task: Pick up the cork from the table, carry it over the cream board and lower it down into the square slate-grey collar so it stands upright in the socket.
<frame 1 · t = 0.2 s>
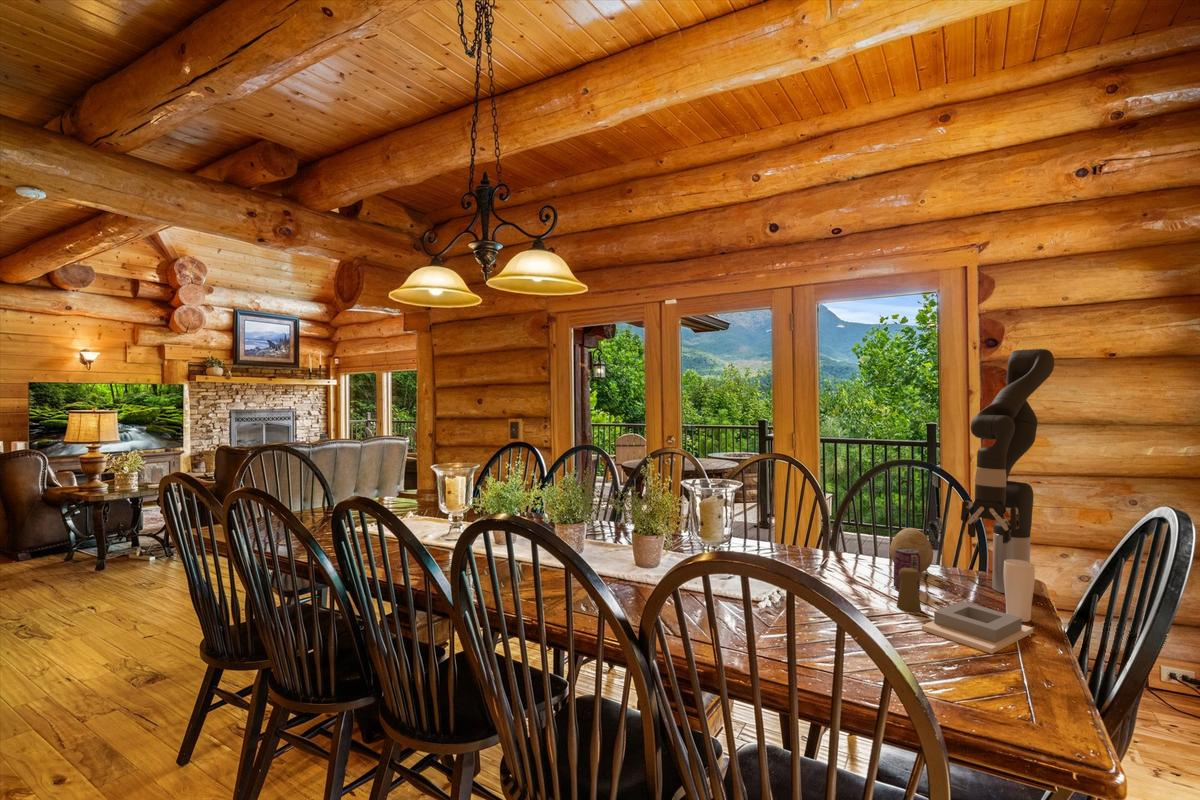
hand: (988, 540, 171), 17 cm above the table, fingers open, 8 cm apart
cork: (908, 609, 164), on the table
socket board: (977, 631, 148), on the table
drinking glass: (1018, 619, 157), on the table
fossilized egg: (910, 573, 196), on the table
beverage can: (906, 589, 180), on the table
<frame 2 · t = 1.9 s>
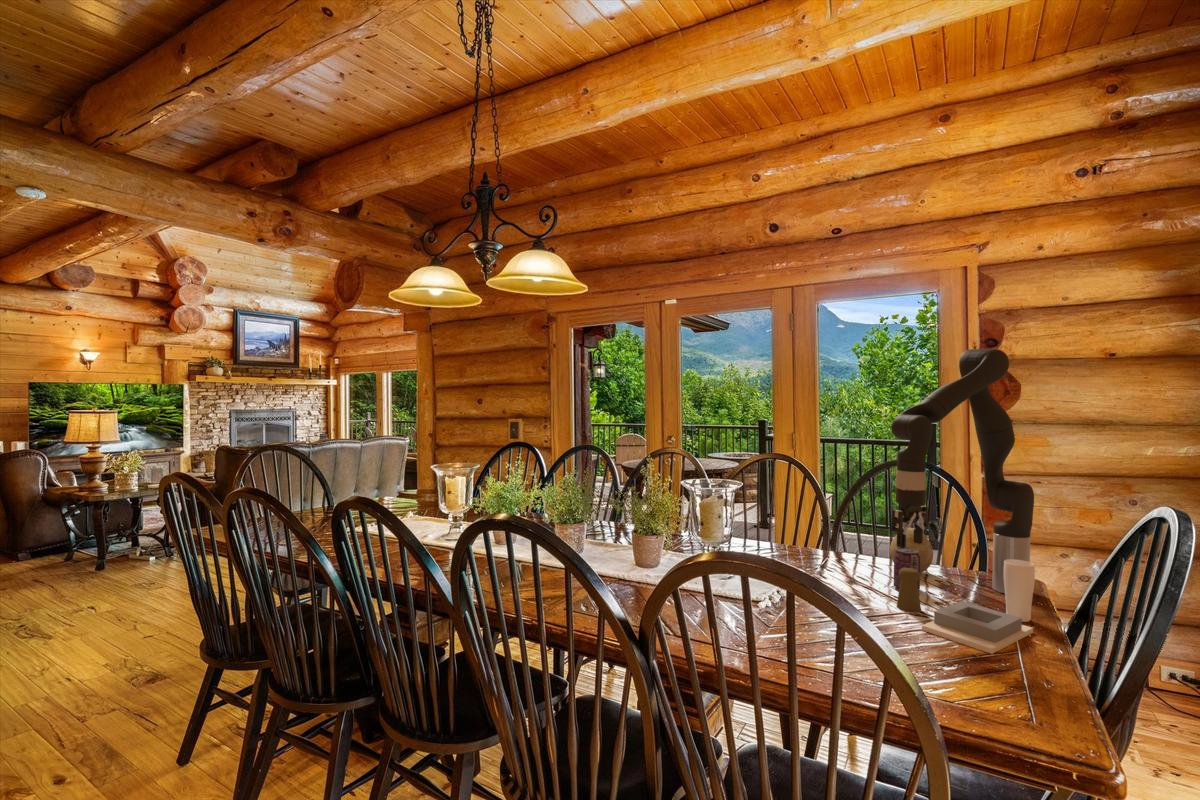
hand: (909, 545, 164), 18 cm above the table, fingers open, 8 cm apart
nothing on the table moved.
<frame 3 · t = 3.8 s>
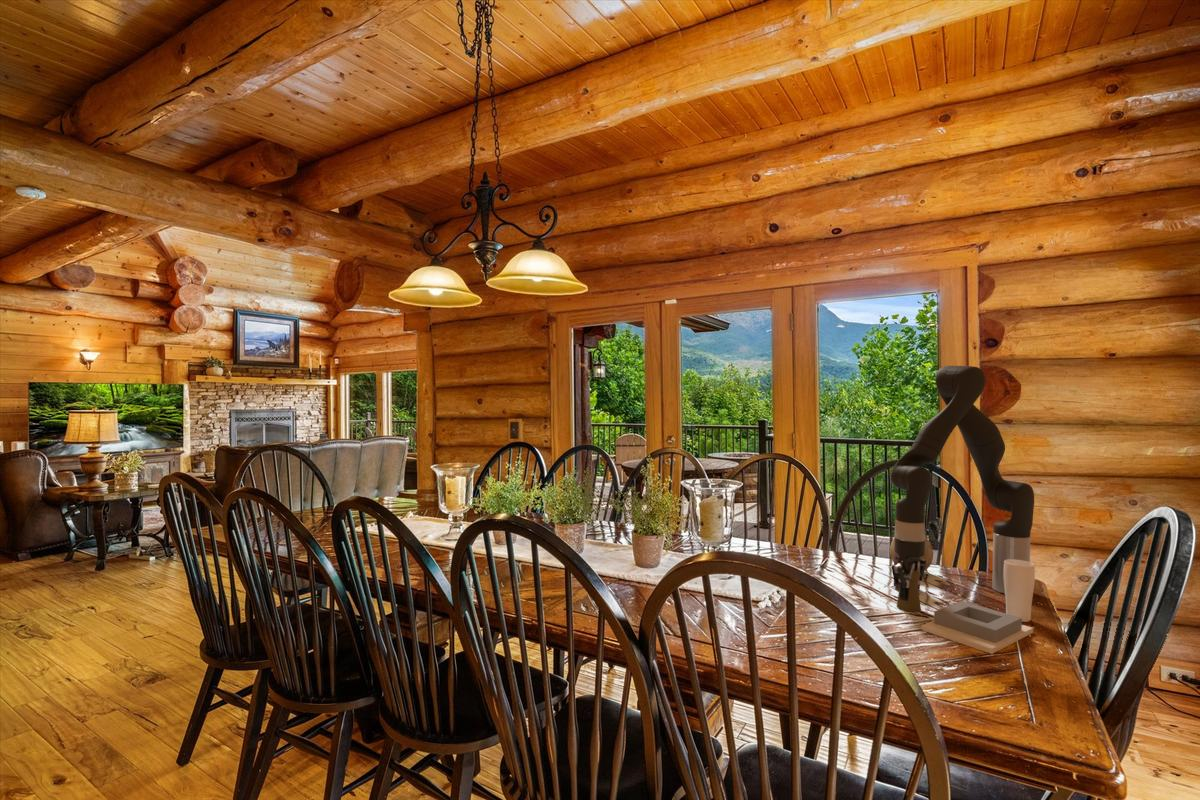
hand: (908, 598, 164), 3 cm above the table, fingers closed on cork, 3 cm apart
cork: (908, 608, 164), on the table, touching gripper
everything else where it was.
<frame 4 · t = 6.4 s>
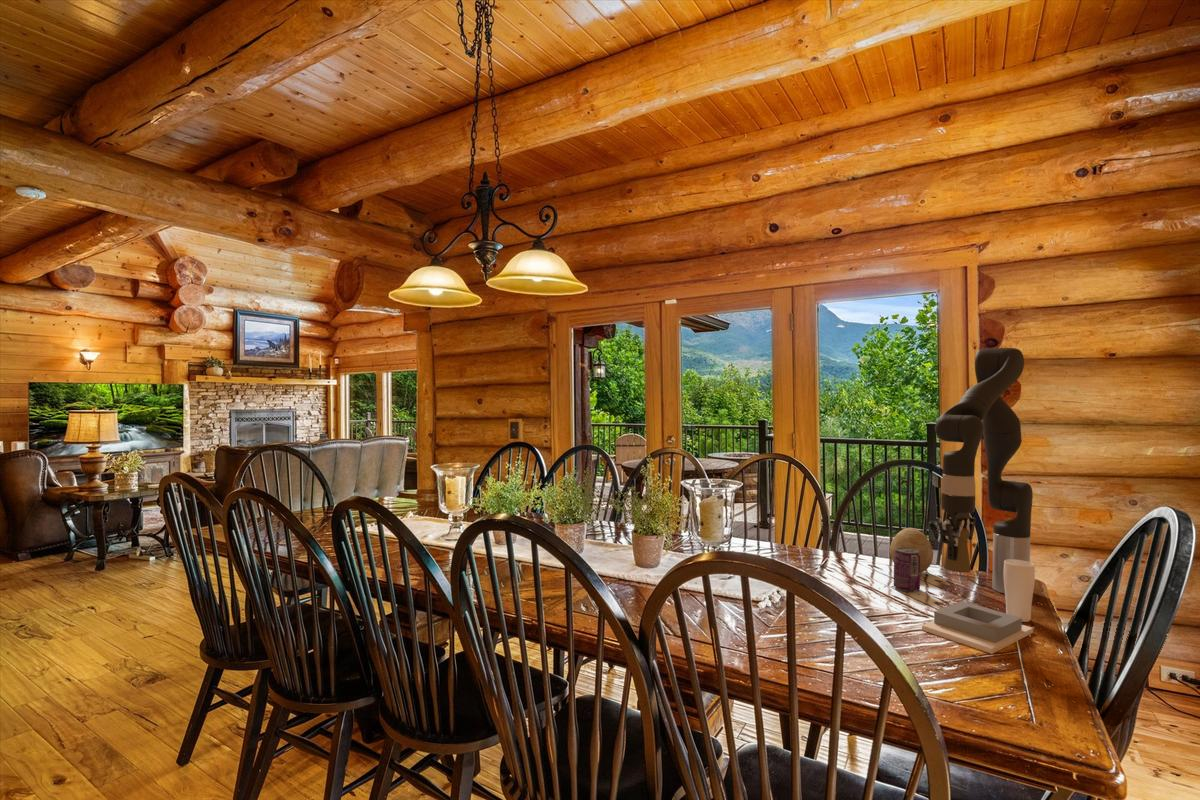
hand: (957, 558, 152), 17 cm above the table, fingers closed on cork, 3 cm apart
cork: (957, 569, 153), point 14 cm above the table, touching gripper
everything else where it was.
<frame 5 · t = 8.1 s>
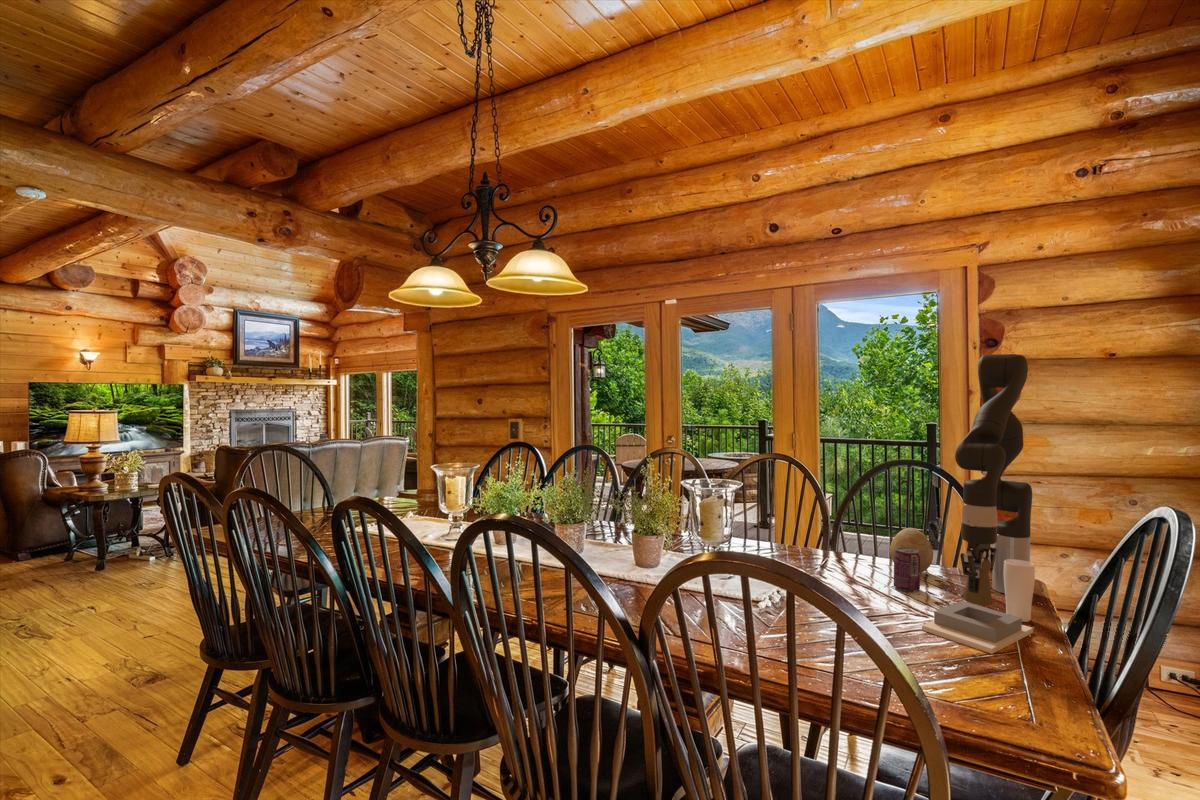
hand: (978, 590, 148), 10 cm above the table, fingers closed on cork, 3 cm apart
cork: (978, 601, 148), point 7 cm above the table, touching gripper
everything else where it was.
when the fingers open (5 cm above the table, at t = 9.4 s): cork drops 1 cm, resting on socket board.
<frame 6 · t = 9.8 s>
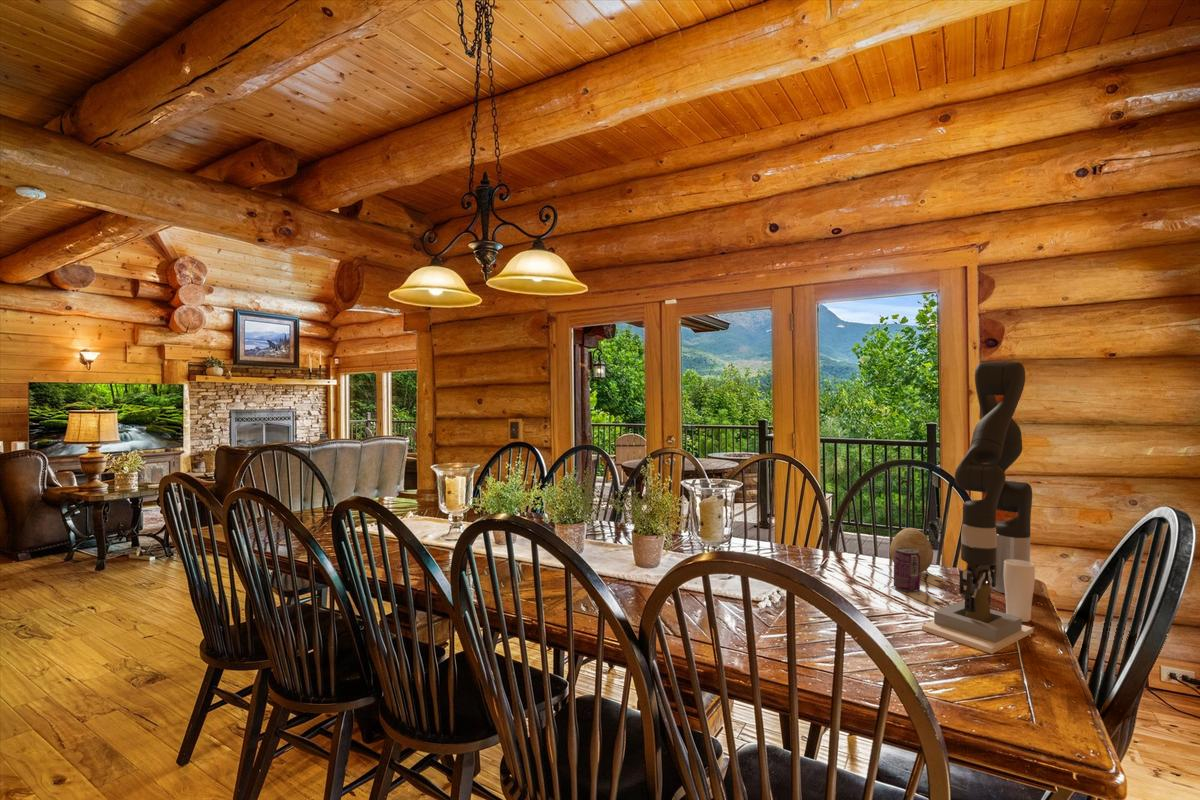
hand: (977, 608, 148), 6 cm above the table, fingers open, 7 cm apart
cork: (978, 626, 149), point 1 cm above the table, touching socket board
everything else where it was.
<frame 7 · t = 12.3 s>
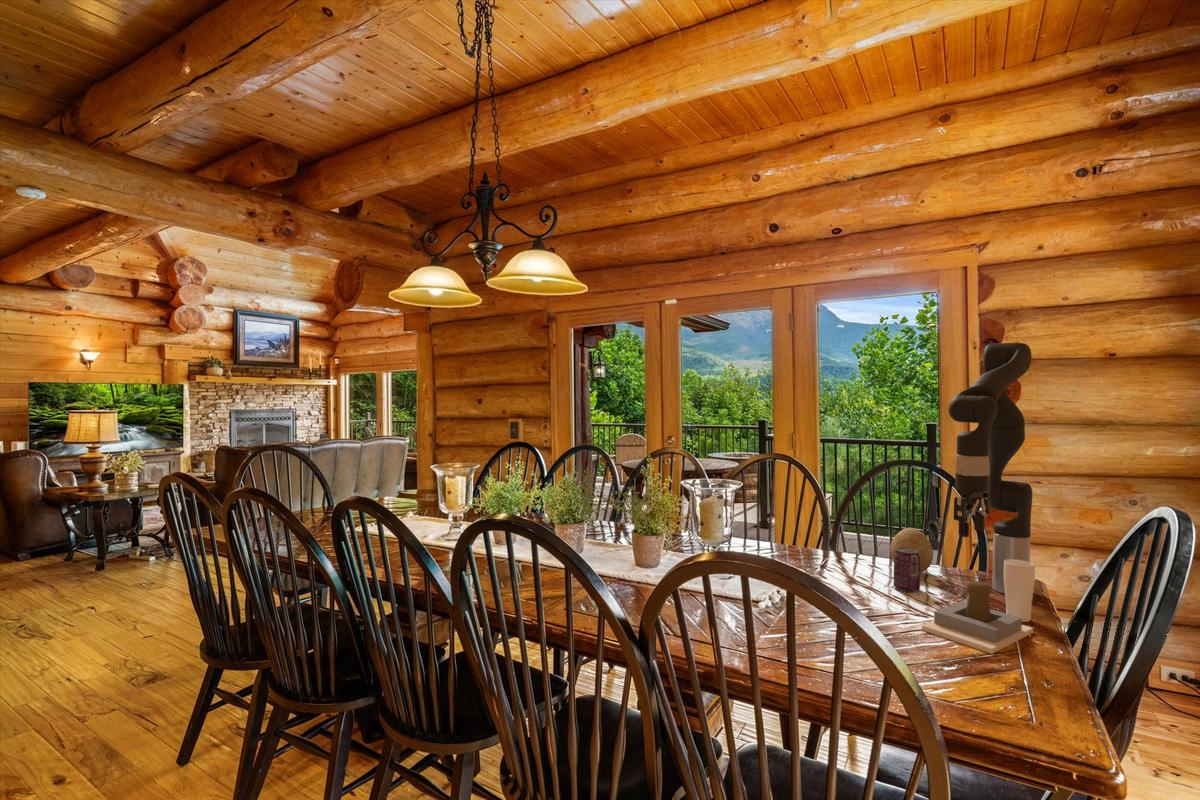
hand: (971, 533, 155), 23 cm above the table, fingers open, 8 cm apart
nothing on the table moved.
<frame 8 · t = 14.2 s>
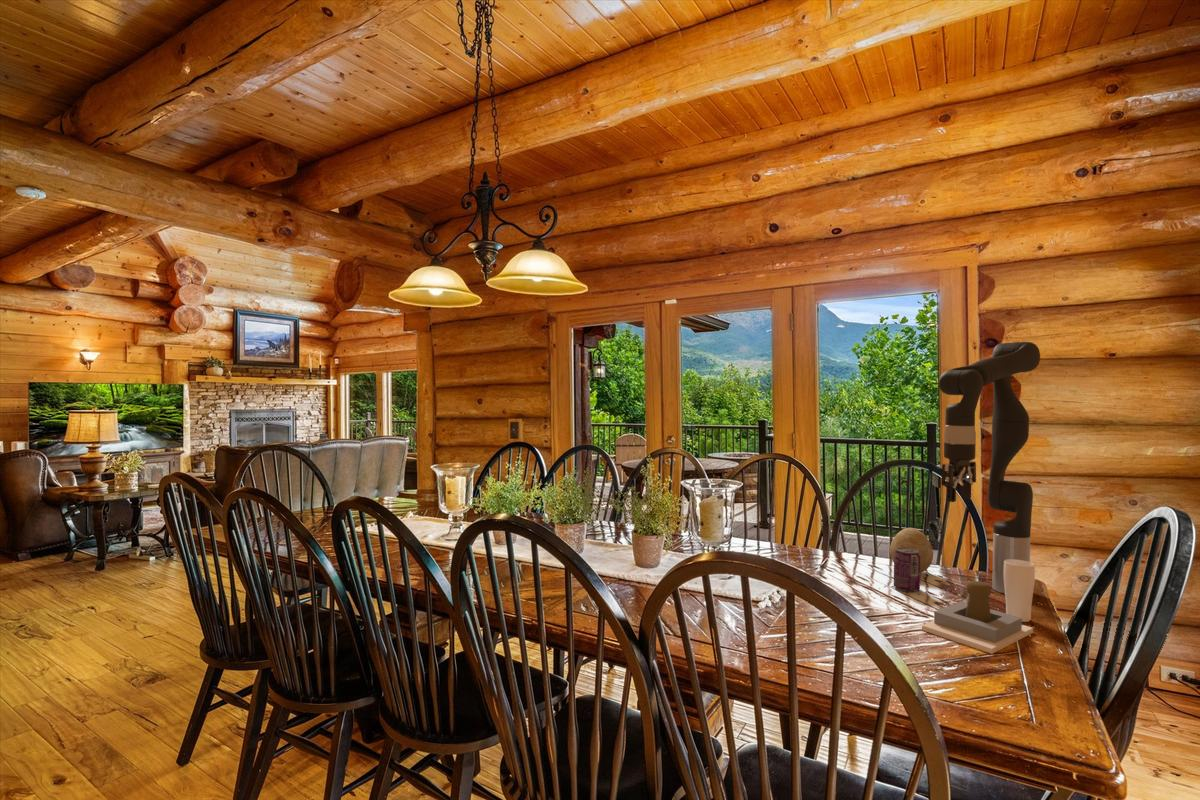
hand: (958, 499, 164), 30 cm above the table, fingers open, 8 cm apart
nothing on the table moved.
at the end: cork 0.8 cm off-centre on the socket board, point 1.0 cm above the socket board's base; cork tilted 0°; the gripper is holding nothing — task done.
